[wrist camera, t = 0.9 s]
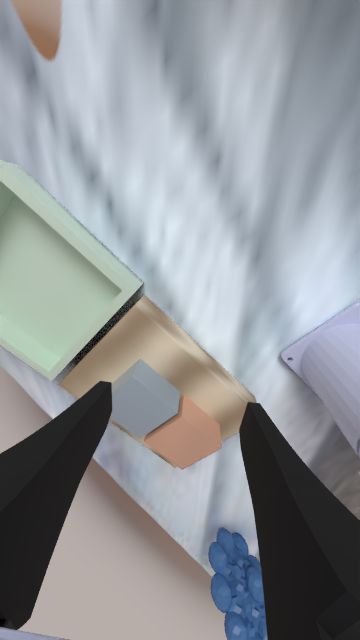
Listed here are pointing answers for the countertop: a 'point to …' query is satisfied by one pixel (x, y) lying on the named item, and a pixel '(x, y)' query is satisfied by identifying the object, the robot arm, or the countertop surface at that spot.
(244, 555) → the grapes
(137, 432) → the slate tile
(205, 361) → the birch board
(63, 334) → the tray
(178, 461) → the terracotta tile
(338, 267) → the countertop surface
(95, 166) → the countertop surface
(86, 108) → the countertop surface
